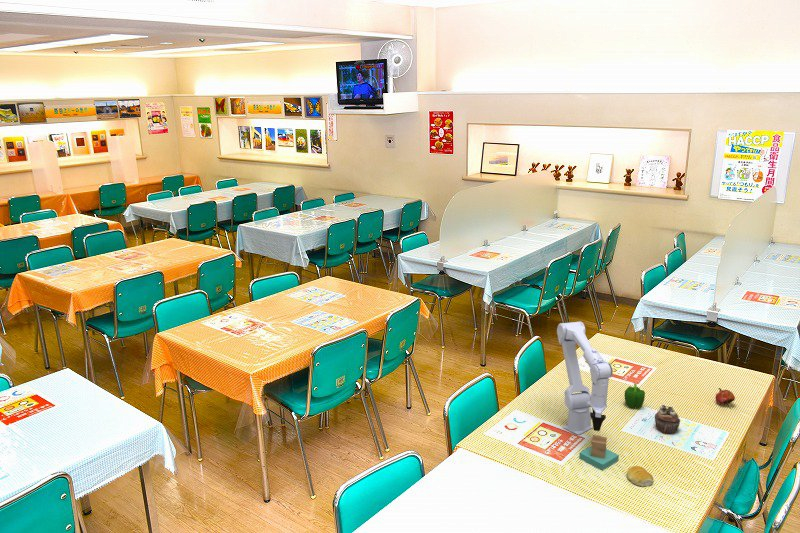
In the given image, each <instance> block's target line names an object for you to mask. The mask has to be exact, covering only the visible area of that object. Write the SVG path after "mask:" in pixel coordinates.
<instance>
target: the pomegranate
mask: <svg viewBox="0 0 800 533" xmlns="http://www.w3.org/2000/svg"><path fill="white" fill-rule="evenodd" d="M717 390H719V391H718V392H717V393H716V394H715V397H714V398H715V401H716V403H717V404H718V405H720V406H723V405H728V406H729V409H730V410H732V409H731V406H730V404H731V403H732V402H734V401H735V399H736V397H735V394H734V393H733V392H732V391H731V390H729V389H723V390H722V389H721V387H719V388H718V389H717Z"/></svg>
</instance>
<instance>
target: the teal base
mask: <svg viewBox="0 0 800 533" xmlns="http://www.w3.org/2000/svg"><path fill="white" fill-rule="evenodd" d="M578 458H579V459H580V460H582V461H583V462H585V463H587V464H589V465H591V466H592V467H594V468H596V469H598V470H600V471H605V470H606V469H607V468H609V467H611V466H612V465H614V464H616V463H618V461H619V458H620V454H618V453H615V452H613V451H611V450H610V449H608V448H606V452H605V459H604V458H599V457H593V456H591V446H589V447H587V448H585V449H584V450H582V451H580V452H579V456H578Z"/></svg>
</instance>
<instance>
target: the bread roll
mask: <svg viewBox="0 0 800 533" xmlns="http://www.w3.org/2000/svg"><path fill="white" fill-rule="evenodd" d="M626 478H627V480H629V482H631V483H632V484H633V485H635V486H639V487H649V486H651V485H652V484H653V482H654V477H653V475H652V474H651V473H650V472H648V470H646V469H645V468H644V467H643V466H639V465H633V466H631V467H629V468H628V469H627V471H626Z"/></svg>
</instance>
